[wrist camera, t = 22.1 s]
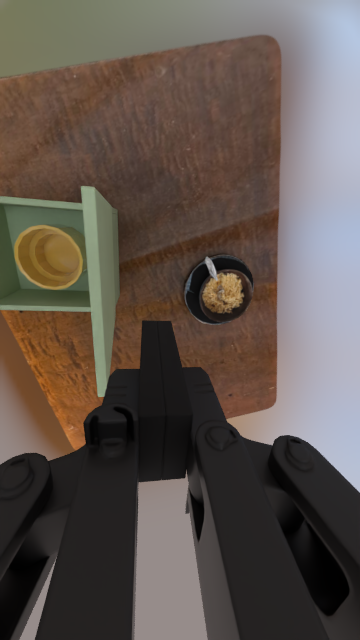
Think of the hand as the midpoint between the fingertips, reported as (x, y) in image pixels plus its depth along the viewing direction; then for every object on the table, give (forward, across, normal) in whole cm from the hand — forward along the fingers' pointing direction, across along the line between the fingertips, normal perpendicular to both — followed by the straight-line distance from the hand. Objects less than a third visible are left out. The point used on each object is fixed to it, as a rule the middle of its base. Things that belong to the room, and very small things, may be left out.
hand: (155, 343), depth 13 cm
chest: (+34, -15, 0) cm, 37 cm away
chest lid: (+14, -5, 0) cm, 15 cm away
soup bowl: (+35, +14, -6) cm, 38 cm away
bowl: (+34, -15, 0) cm, 37 cm away
